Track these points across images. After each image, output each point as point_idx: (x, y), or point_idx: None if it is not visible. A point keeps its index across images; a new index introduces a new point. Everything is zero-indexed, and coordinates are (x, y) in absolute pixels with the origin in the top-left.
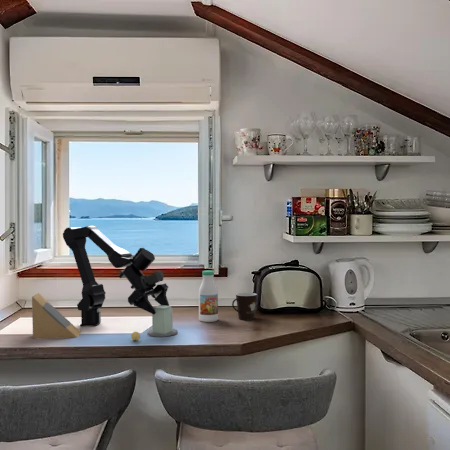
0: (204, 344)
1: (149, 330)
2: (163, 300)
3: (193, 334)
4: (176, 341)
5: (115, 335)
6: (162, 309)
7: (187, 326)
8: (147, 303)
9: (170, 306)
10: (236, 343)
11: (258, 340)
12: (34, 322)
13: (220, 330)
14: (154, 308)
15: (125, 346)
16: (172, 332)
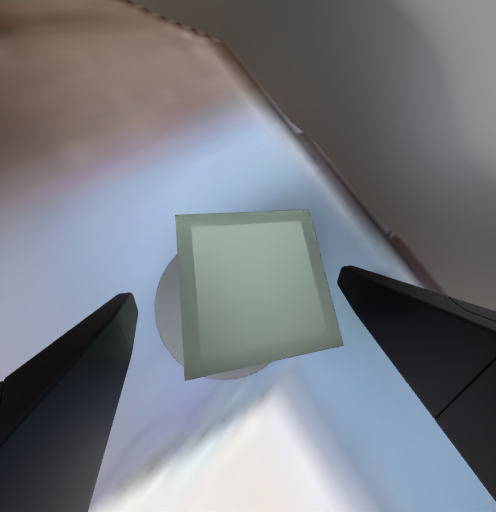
0: (266, 108)
1: (249, 371)
2: (62, 429)
3: (180, 182)
4: (289, 185)
5: (382, 464)
6: (309, 230)
7: (39, 287)
8: (489, 315)
9: (203, 217)
10: (210, 48)
11: (150, 11)
12: None
13: (65, 125)
14: (331, 314)
15: (425, 282)
16: None
